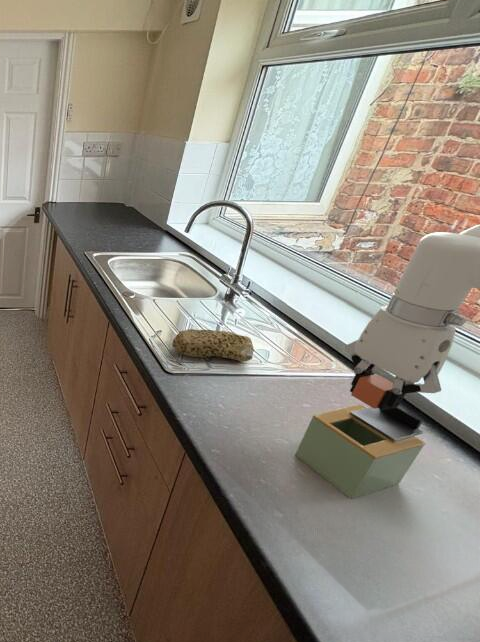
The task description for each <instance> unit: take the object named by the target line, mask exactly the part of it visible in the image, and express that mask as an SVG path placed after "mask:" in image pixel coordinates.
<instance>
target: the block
mask: <svg viewBox="0 0 480 642" xmlns="http://www.w3.org/2000/svg"><path fill="white" fill-rule="evenodd" d="M393 384H394V381H393V382H392V381H391V380H390V379H387V378H385V377H383V376H381V375H380V374H377V373H374V375H369V376H365V377H360V378H359V380H358V382H357V384H356V386H355V388H354V390H353V392H351V396H352V397H354V398H356V399H357V400H359V401H360V402H362V403H364V404H365V405H367V406H368V407H372V408H374V409H377V408H379V407H378V406H379V404H380V402H381V400H382V399H383V397H384V395H385V393H386V392H387V391H388V390H392V388H393Z"/></svg>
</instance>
